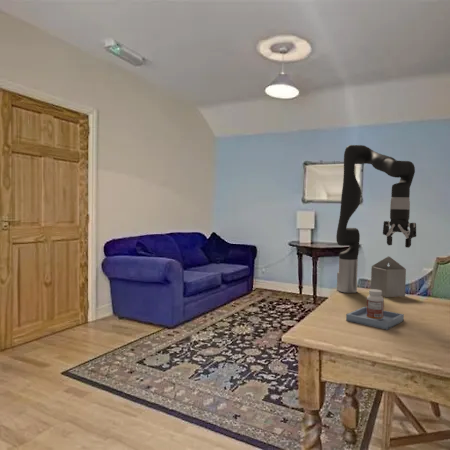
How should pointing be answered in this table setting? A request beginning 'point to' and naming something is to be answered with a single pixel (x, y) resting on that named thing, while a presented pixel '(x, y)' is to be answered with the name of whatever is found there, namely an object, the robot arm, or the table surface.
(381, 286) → the planter
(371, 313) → the pill bottle
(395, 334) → the table surface
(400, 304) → the table surface
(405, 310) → the table surface
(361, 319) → the tray
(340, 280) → the robot arm
